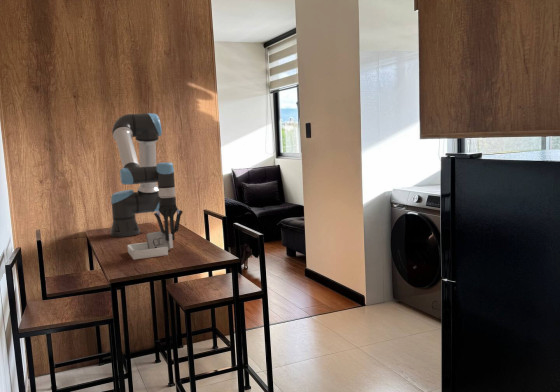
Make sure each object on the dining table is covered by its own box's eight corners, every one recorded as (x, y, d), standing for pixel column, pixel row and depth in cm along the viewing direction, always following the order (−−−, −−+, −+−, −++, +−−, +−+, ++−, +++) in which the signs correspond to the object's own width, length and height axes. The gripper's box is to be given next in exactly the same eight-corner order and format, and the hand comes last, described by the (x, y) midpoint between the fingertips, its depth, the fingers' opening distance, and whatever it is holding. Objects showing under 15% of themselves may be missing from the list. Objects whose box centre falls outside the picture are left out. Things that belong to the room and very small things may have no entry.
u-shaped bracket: (127, 252, 245) (127, 244, 244) (160, 247, 251) (160, 240, 250) (133, 259, 230) (133, 251, 230) (168, 254, 236) (167, 247, 236)
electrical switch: (150, 254, 239) (148, 233, 238) (146, 253, 243) (143, 233, 243) (169, 250, 245) (167, 230, 244) (165, 249, 249) (163, 230, 248)
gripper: (154, 199, 235) (158, 251, 239) (183, 196, 241) (186, 247, 244) (151, 197, 242) (154, 247, 245) (179, 194, 248) (182, 244, 251)
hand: (170, 247), depth 245 cm, fingers closed
